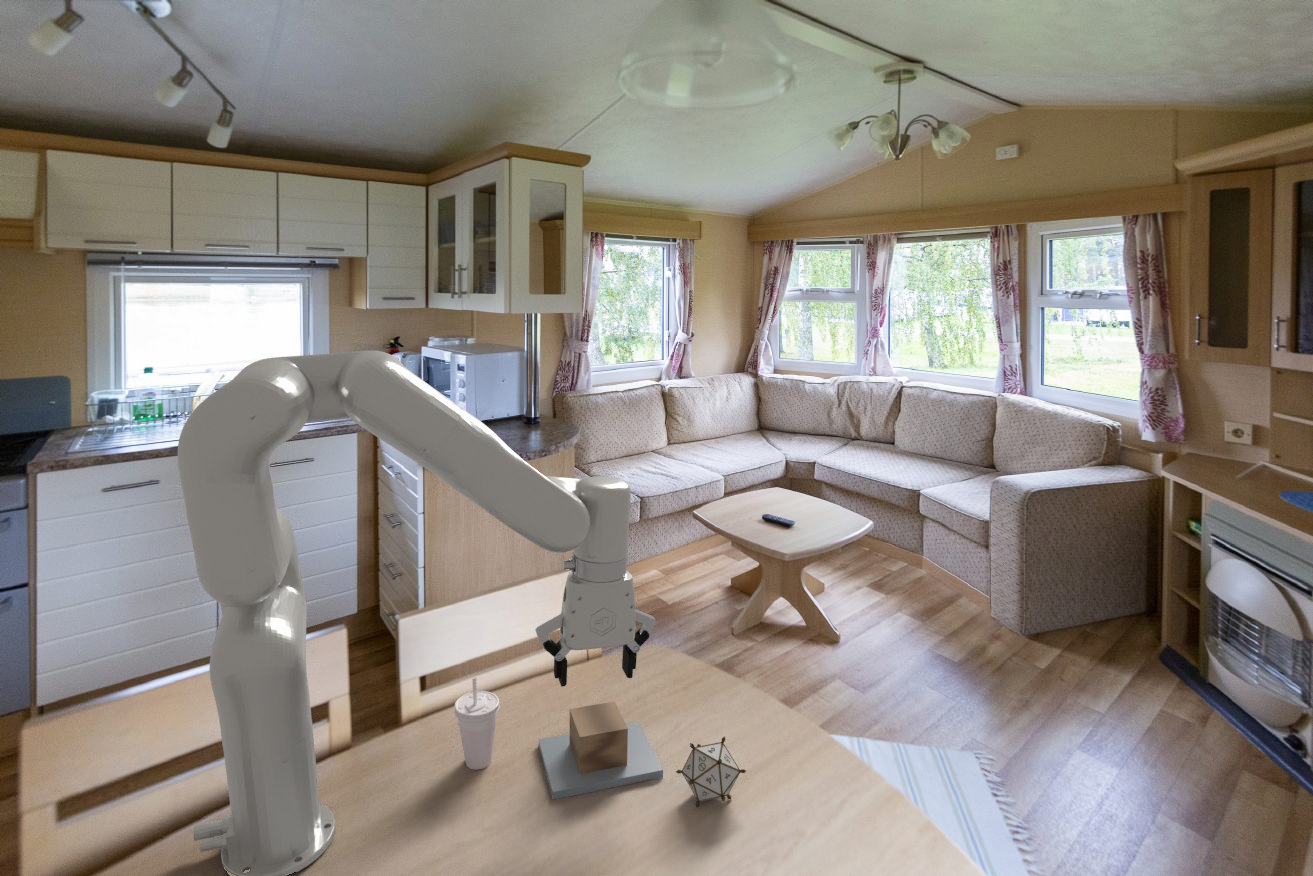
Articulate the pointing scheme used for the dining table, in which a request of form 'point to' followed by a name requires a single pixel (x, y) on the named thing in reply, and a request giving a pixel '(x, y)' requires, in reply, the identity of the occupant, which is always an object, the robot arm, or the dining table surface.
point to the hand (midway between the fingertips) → (594, 677)
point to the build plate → (571, 782)
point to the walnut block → (598, 737)
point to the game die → (710, 771)
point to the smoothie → (477, 725)
